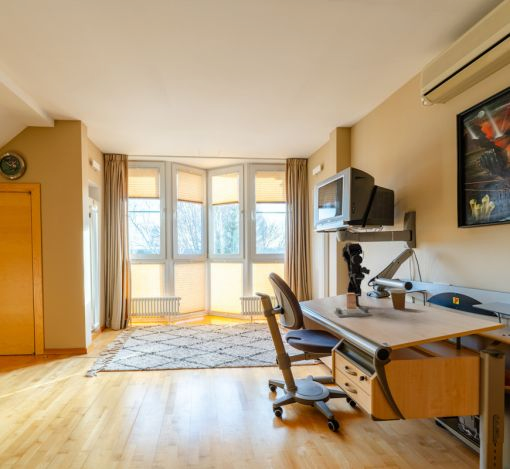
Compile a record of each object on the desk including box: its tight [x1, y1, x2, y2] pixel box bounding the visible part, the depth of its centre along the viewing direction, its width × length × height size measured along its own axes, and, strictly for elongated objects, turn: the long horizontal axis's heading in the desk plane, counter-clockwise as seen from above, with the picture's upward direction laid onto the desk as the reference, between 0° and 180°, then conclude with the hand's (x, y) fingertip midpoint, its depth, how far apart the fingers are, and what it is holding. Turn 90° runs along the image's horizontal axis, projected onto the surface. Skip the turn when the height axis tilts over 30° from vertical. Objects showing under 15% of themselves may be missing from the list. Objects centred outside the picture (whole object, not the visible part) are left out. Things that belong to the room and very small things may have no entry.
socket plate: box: [334, 306, 372, 318], centre depth 207 cm, size 14×18×4 cm
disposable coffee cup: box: [389, 287, 407, 310], centre depth 216 cm, size 10×10×12 cm
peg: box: [345, 292, 357, 309], centre depth 208 cm, size 4×4×11 cm
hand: (356, 288), depth 220 cm, fingers open, 9 cm apart
